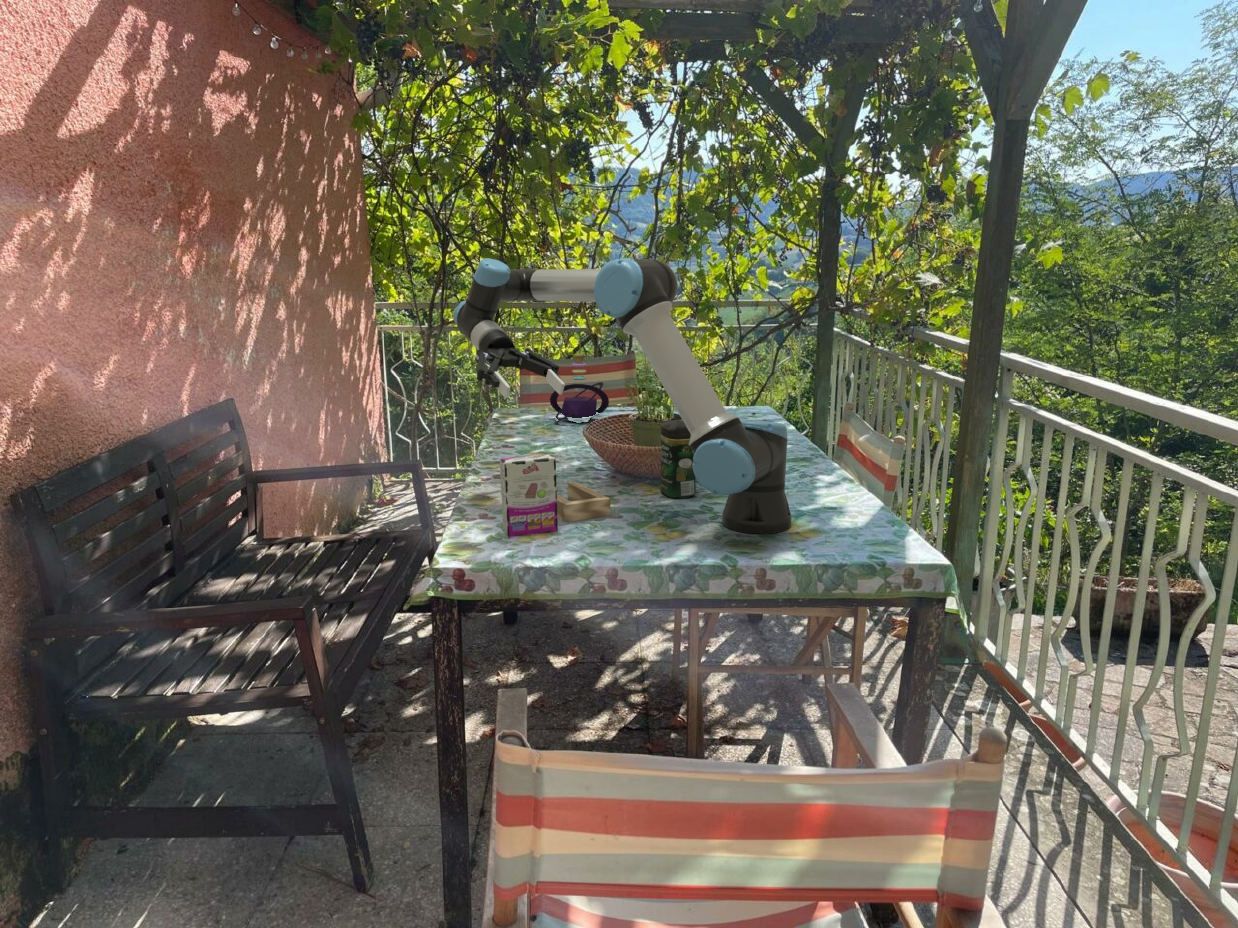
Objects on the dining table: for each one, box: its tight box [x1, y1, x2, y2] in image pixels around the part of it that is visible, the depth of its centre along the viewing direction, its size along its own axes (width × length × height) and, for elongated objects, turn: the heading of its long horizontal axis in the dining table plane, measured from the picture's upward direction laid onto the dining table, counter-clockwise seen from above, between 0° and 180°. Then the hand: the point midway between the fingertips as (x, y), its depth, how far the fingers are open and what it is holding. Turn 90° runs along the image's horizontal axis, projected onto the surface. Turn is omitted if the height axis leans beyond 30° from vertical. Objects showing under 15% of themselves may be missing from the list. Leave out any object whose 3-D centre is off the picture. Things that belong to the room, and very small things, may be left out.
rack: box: [557, 481, 611, 522], centre depth 196 cm, size 11×18×4 cm, turn 30°
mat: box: [557, 497, 624, 527], centre depth 196 cm, size 16×20×1 cm
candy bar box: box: [499, 453, 559, 539], centre depth 179 cm, size 11×5×16 cm, turn 112°
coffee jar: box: [659, 419, 697, 499], centre depth 209 cm, size 10×8×19 cm
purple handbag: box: [549, 353, 610, 422], centre depth 310 cm, size 22×21×25 cm
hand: (535, 391), depth 183 cm, fingers open, 13 cm apart
